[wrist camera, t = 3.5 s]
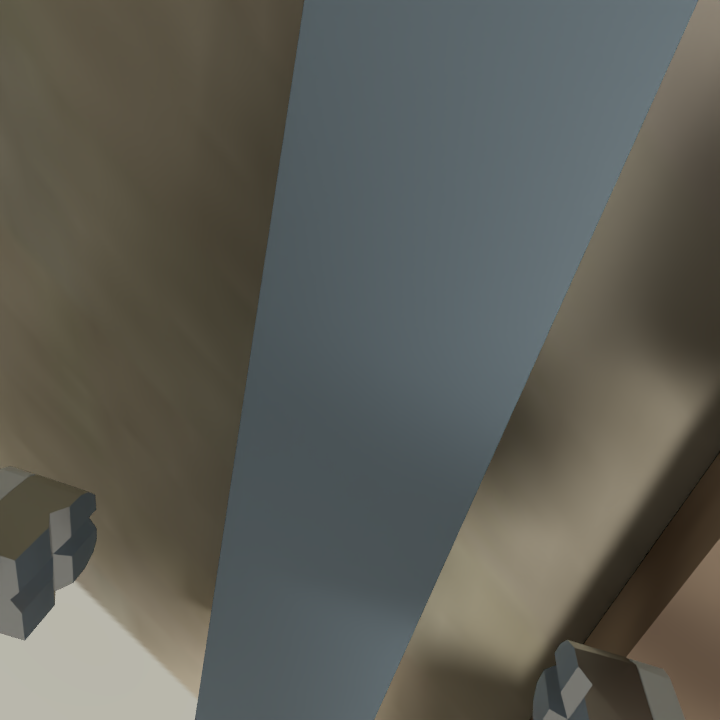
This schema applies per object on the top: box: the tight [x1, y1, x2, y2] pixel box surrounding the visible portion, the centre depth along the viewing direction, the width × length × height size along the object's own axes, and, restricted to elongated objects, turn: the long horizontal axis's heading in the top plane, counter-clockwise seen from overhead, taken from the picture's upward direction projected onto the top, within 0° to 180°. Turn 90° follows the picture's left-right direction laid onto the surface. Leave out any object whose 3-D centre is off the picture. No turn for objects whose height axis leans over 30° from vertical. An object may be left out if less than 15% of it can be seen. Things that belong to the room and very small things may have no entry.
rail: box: [195, 0, 698, 720], centre depth 11 cm, size 20×4×4 cm, turn 166°
